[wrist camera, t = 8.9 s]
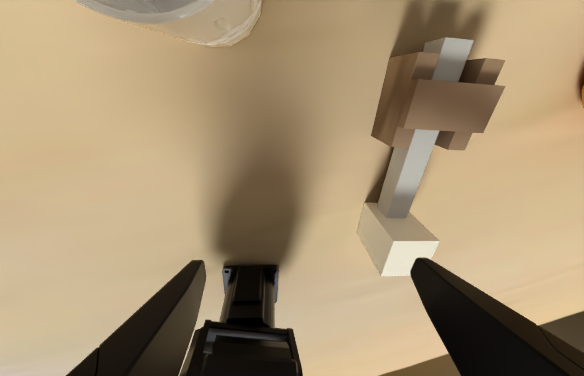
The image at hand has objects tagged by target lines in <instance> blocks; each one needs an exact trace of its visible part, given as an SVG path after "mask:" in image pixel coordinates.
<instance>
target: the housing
mask: <svg viewBox="0 0 584 376" xmlns="http://www.w3.org/2000/svg"><path fill="white" fill-rule="evenodd" d="M438 58H439V54H437V53H427V52H415V53H410V54H406V55H401V56H396V57H391V58H390V59H389V63H388V68H387V72H386V76H385V80H384V84H383V89H382V93H381V97H380V101H379V105H378V110H377V114H376V118H375V122H374V126H373V131H372V135H371V136H372V137H374V138H376V139H378V140H380V141H382V142H383V143H385V144H387V145H389V146H391V147H404V148H409V146H410V143H411V140H412V137H413V134H414V131H415V129H420V130H437V131H439V133H438V136H437V139H436V141H435V145H437V146H440V147H443V148H445V149H448V150H465V148H466V146H467V144H468V141H469V139H470V137H471V135H472V133H483V132H484V130H485V128H486V126H487V124H488V121H489V119H490V117H491V115H492V113H493V111H494V109H495V107H496V105H497V103H498V100H499V98H500V96H501V94H502V92H503V90H504V88H505V86H498V85H494V84H495V82H496V80H497V77H498V75H499V73H500V71H501V69H502V66H503V64H504V62H505V60H499V59H488V58H484V59H475V60H466V63H465V65H464V68H463V70H462V73H461V76H460V78H459V81H458V82H449V81H437V80H431V79H432V76H433V73H434V70H435V67H436V64H437V61H438Z"/></svg>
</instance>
